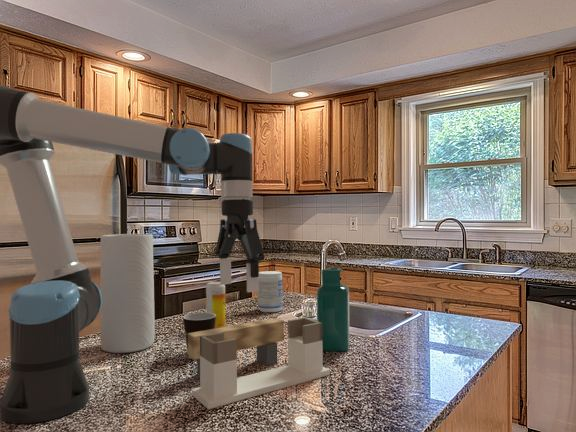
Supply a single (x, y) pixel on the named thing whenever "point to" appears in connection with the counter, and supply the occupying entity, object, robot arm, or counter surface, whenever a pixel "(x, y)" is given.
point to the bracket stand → (228, 388)
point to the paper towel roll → (127, 292)
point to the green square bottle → (333, 311)
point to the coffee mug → (198, 323)
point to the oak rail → (242, 335)
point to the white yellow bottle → (216, 302)
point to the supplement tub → (270, 291)
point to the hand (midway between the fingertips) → (238, 287)
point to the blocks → (259, 355)
